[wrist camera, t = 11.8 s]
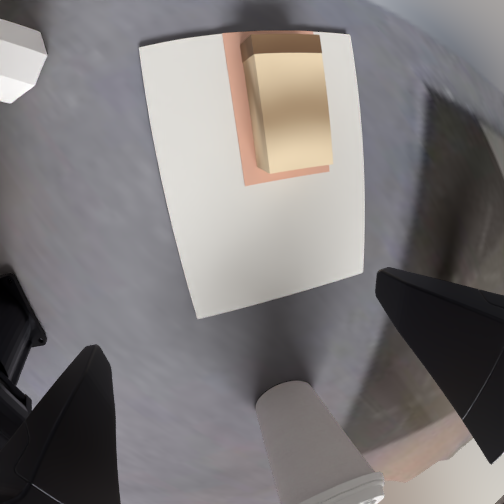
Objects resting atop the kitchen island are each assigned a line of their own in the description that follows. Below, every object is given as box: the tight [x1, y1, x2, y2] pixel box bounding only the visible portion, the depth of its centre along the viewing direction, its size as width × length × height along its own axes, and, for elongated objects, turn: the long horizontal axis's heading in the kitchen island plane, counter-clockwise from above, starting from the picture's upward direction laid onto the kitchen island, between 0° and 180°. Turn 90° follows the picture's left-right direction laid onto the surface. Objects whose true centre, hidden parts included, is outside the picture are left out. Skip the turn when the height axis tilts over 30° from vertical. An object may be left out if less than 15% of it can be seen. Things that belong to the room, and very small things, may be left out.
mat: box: [139, 31, 365, 319], centre depth 19 cm, size 19×14×1 cm
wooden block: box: [240, 34, 333, 174], centre depth 16 cm, size 8×4×2 cm, turn 5°
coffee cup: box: [255, 381, 384, 504], centre depth 23 cm, size 10×10×15 cm
